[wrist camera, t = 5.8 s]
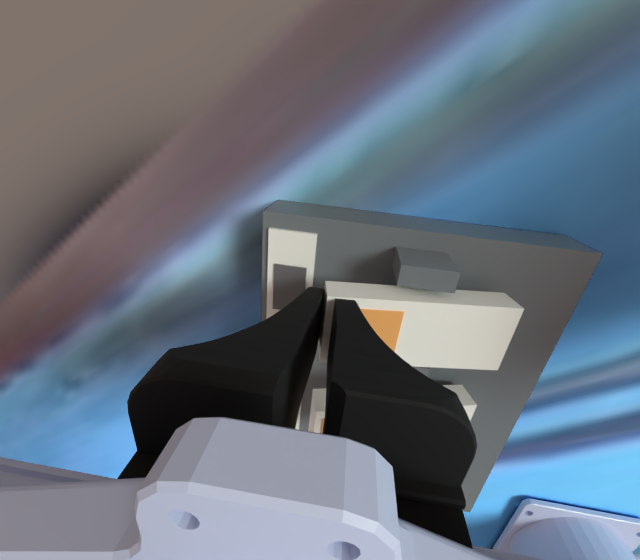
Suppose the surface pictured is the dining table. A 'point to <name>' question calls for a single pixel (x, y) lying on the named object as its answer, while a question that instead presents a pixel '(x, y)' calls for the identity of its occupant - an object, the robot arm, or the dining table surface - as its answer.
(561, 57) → the dining table surface
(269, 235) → the switch unit
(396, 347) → the rocker
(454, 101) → the dining table surface
